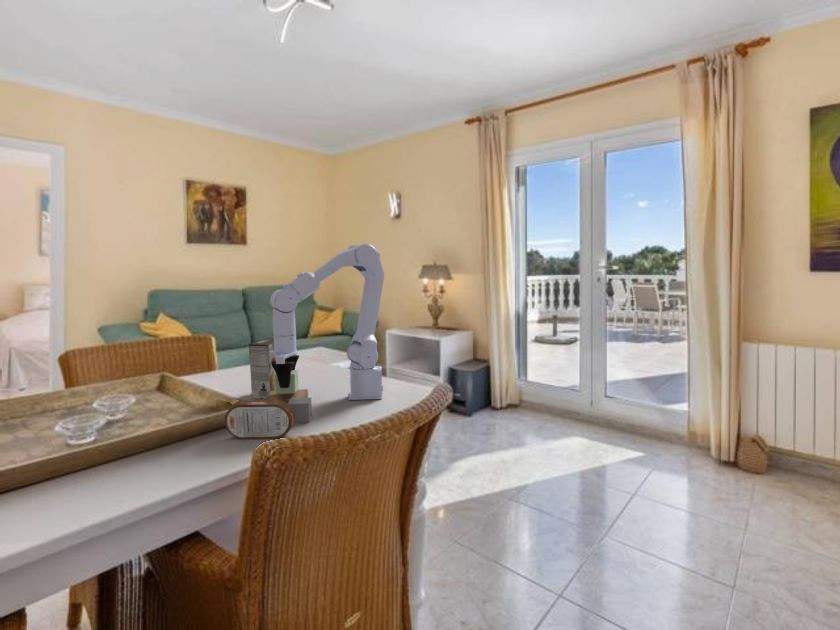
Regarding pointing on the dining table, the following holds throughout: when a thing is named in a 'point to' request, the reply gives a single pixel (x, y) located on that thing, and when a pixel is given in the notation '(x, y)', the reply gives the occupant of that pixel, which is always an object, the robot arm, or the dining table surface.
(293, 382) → the green cube
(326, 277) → the robot arm
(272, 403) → the tin
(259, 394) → the coffee box
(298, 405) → the grey cube
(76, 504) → the dining table surface
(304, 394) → the walnut base
